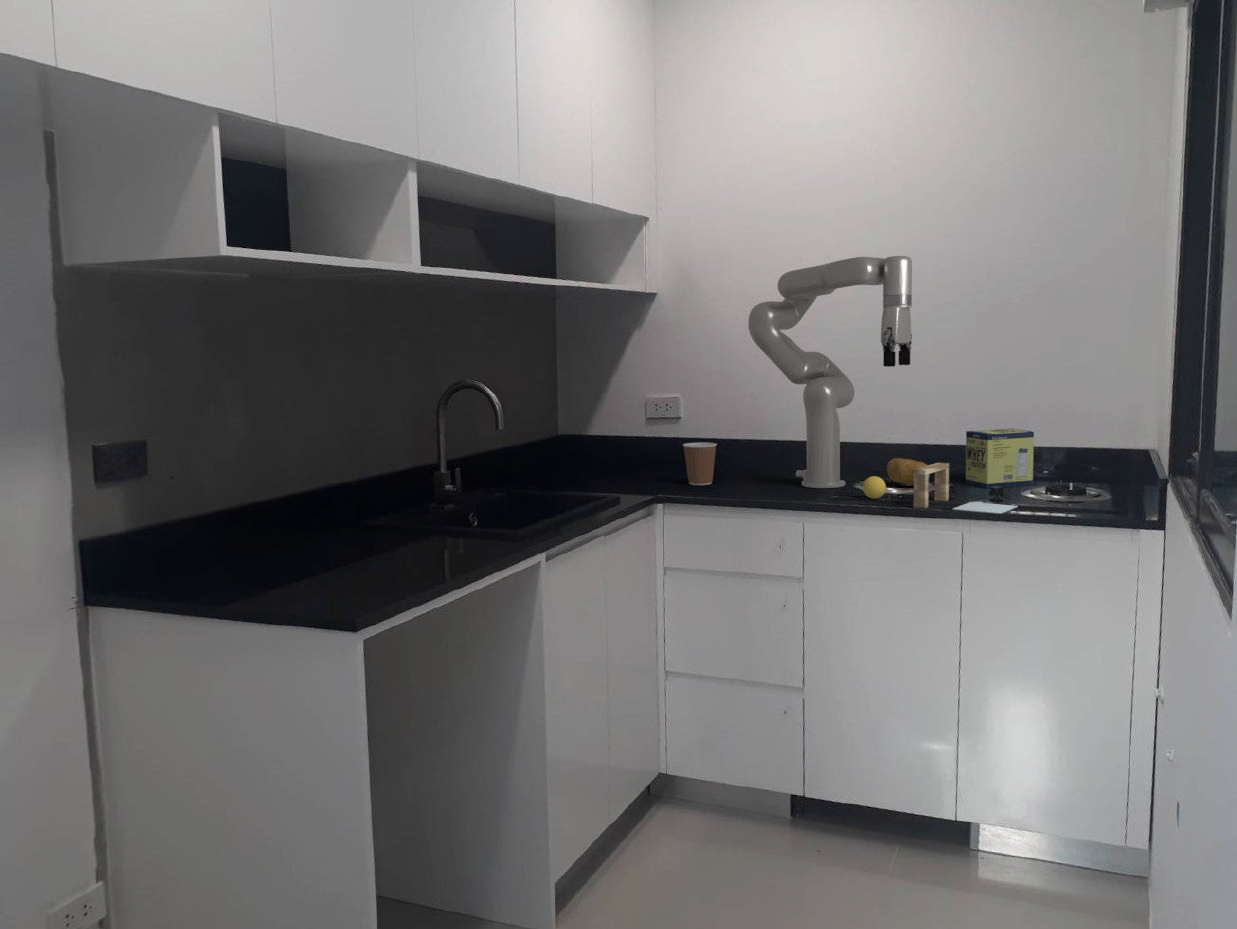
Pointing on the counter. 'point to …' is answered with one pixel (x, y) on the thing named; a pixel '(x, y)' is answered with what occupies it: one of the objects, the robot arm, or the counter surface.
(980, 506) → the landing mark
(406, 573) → the counter surface
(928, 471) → the bridge
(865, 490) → the ball
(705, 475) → the coffee cup
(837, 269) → the robot arm
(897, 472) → the potato
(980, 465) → the protein box
